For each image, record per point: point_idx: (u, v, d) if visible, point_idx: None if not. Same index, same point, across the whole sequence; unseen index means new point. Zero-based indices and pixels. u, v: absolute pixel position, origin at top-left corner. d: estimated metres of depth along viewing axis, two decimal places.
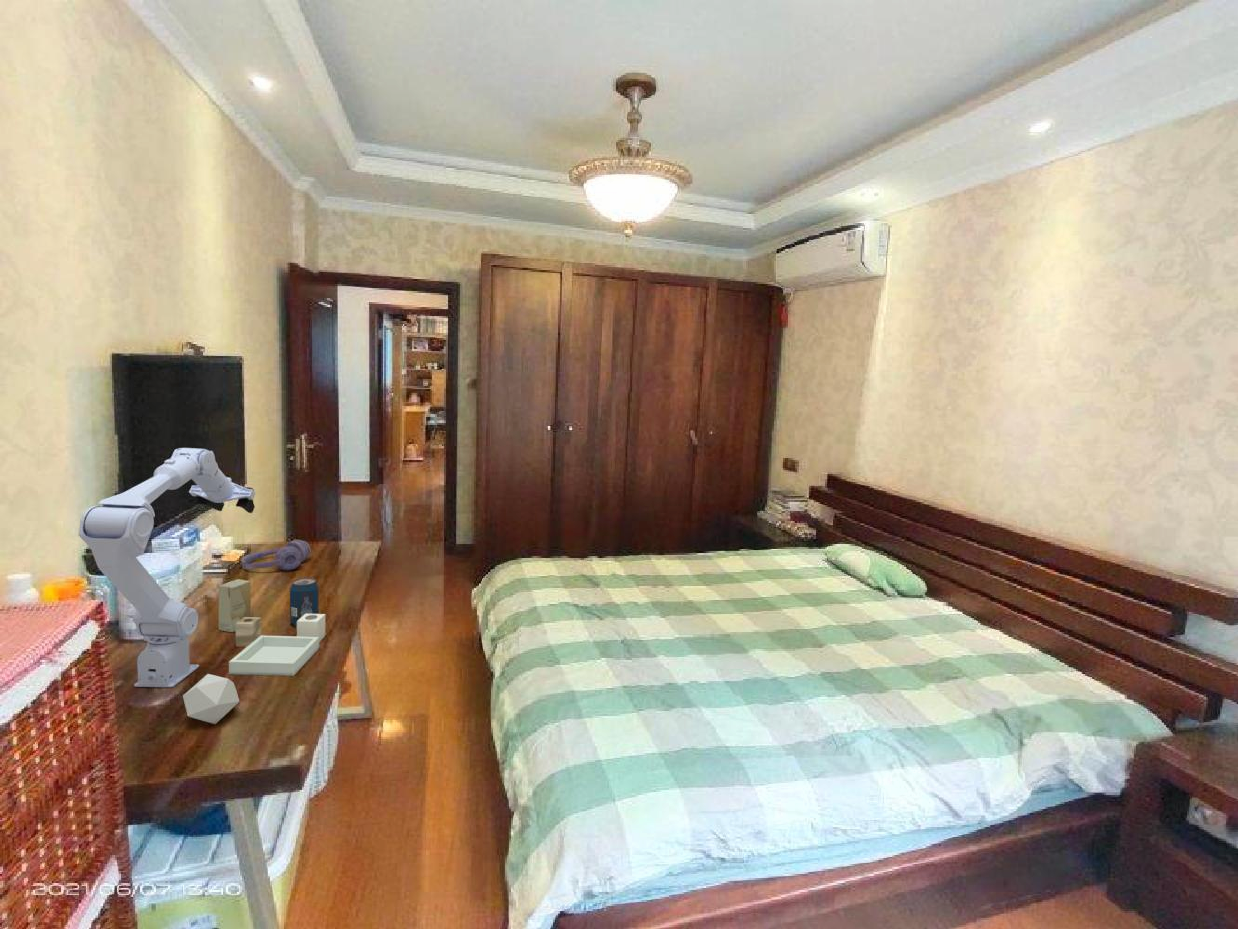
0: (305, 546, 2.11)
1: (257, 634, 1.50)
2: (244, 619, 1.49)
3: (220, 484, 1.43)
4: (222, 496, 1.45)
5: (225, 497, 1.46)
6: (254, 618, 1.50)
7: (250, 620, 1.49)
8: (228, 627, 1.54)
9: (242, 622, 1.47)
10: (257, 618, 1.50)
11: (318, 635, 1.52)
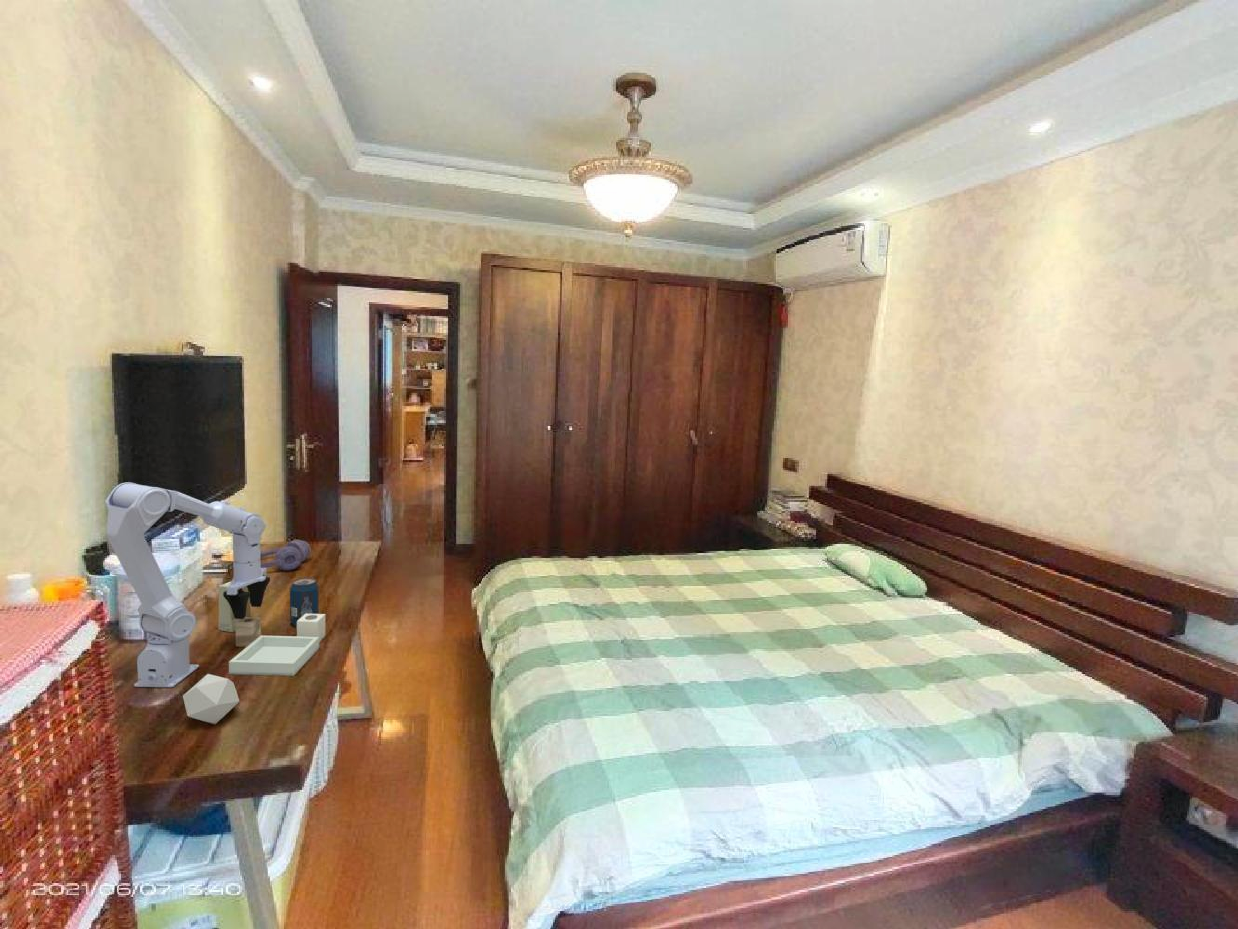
0: (305, 546, 2.11)
1: (257, 634, 1.50)
2: (244, 619, 1.49)
3: (250, 559, 1.44)
4: (234, 574, 1.45)
5: (234, 577, 1.45)
6: (254, 618, 1.50)
7: (250, 620, 1.49)
8: (228, 627, 1.54)
9: (242, 622, 1.47)
10: (257, 618, 1.50)
11: (318, 635, 1.52)
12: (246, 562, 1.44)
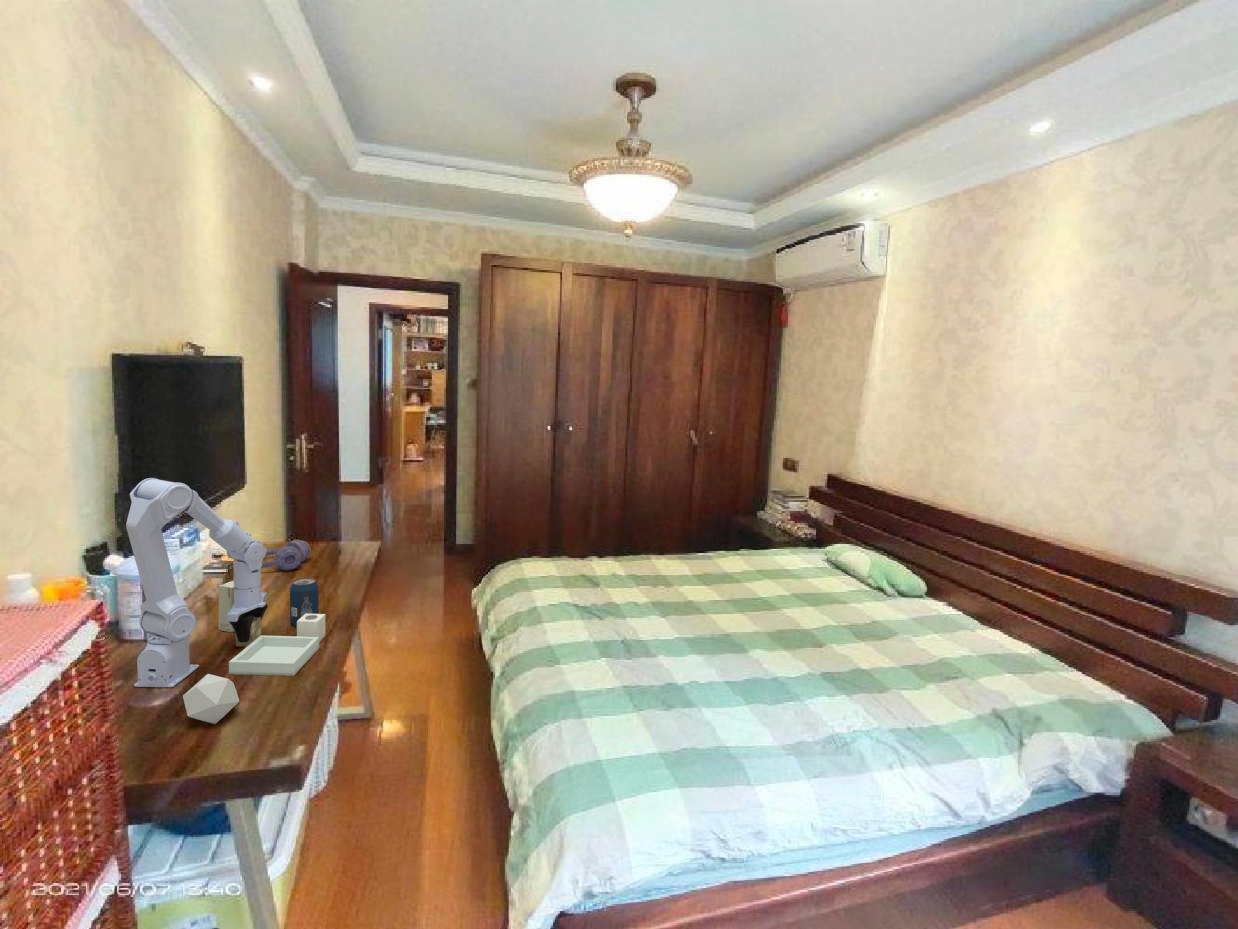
0: (305, 546, 2.11)
1: (257, 634, 1.50)
2: None
3: (250, 586, 1.45)
4: (234, 600, 1.46)
5: (234, 604, 1.46)
6: (254, 618, 1.50)
7: None
8: (228, 627, 1.54)
9: None
10: (257, 618, 1.50)
11: (318, 635, 1.52)
12: (247, 588, 1.45)
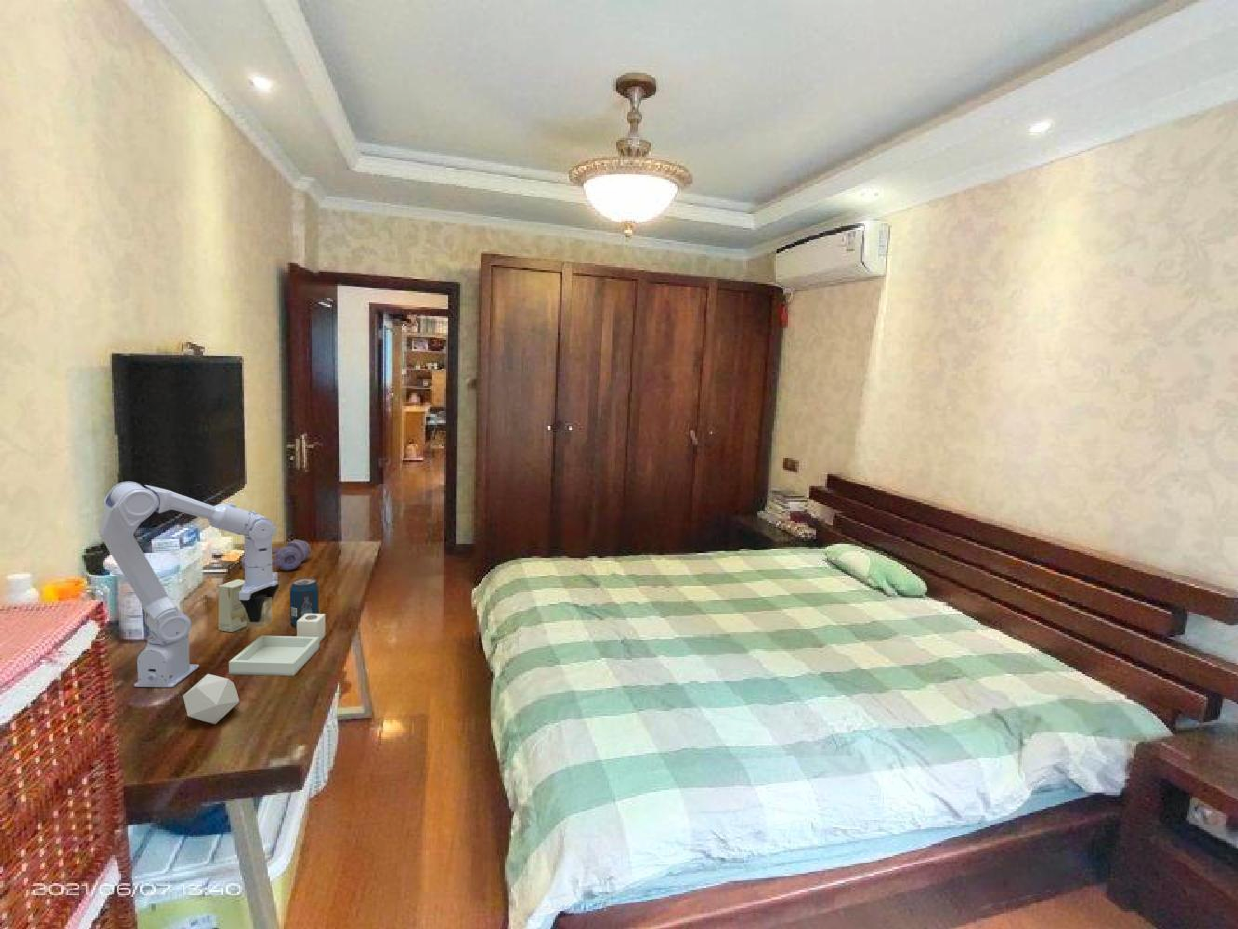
0: (305, 546, 2.11)
1: (268, 614, 1.46)
2: None
3: (257, 564, 1.41)
4: (245, 579, 1.42)
5: (245, 582, 1.41)
6: (265, 598, 1.46)
7: None
8: (228, 627, 1.54)
9: None
10: (268, 598, 1.46)
11: (318, 635, 1.52)
12: (253, 566, 1.40)
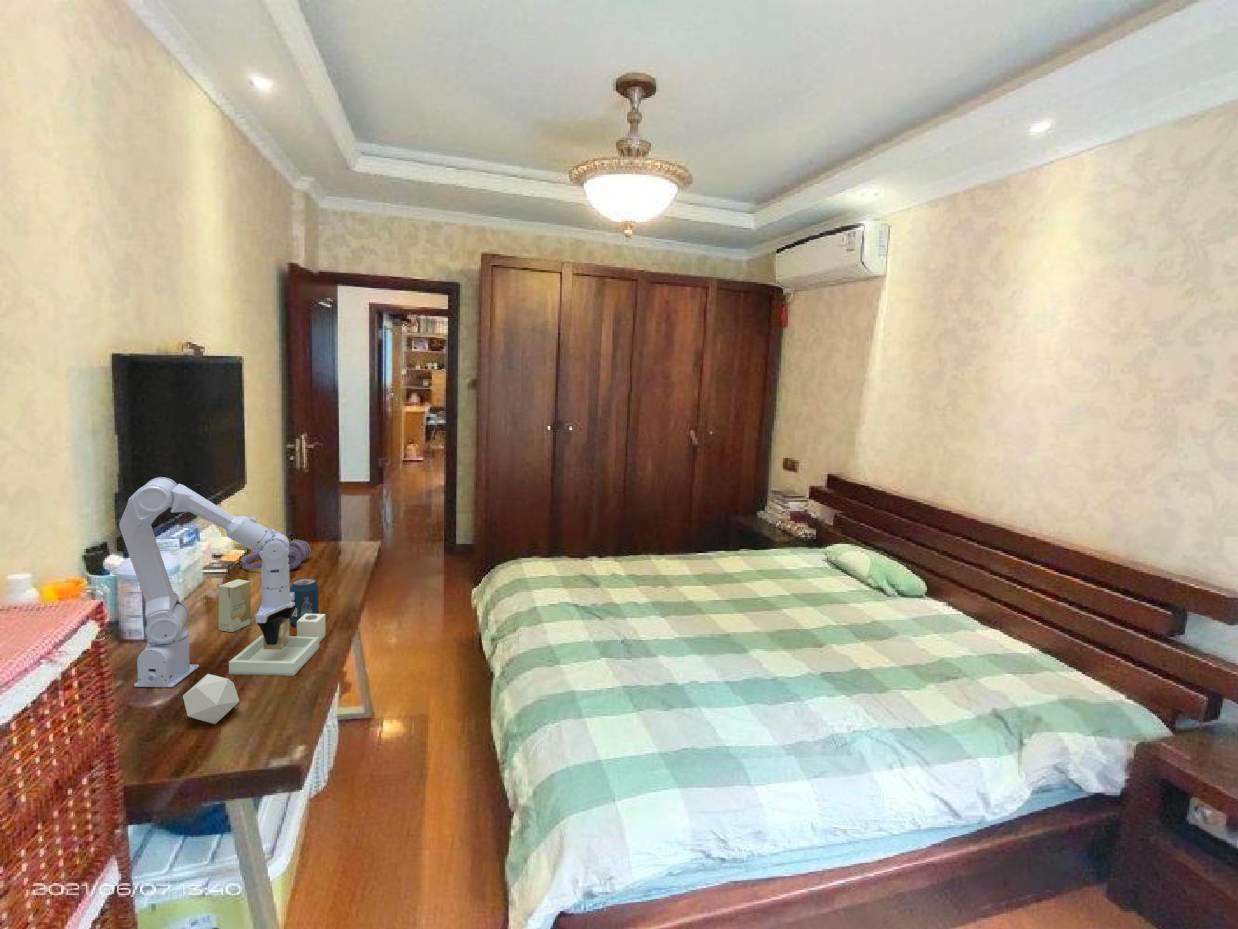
0: (305, 546, 2.11)
1: (286, 636, 1.41)
2: None
3: (269, 586, 1.36)
4: (262, 600, 1.37)
5: (262, 604, 1.37)
6: None
7: None
8: (228, 627, 1.54)
9: None
10: (285, 619, 1.42)
11: (318, 635, 1.52)
12: (266, 588, 1.36)
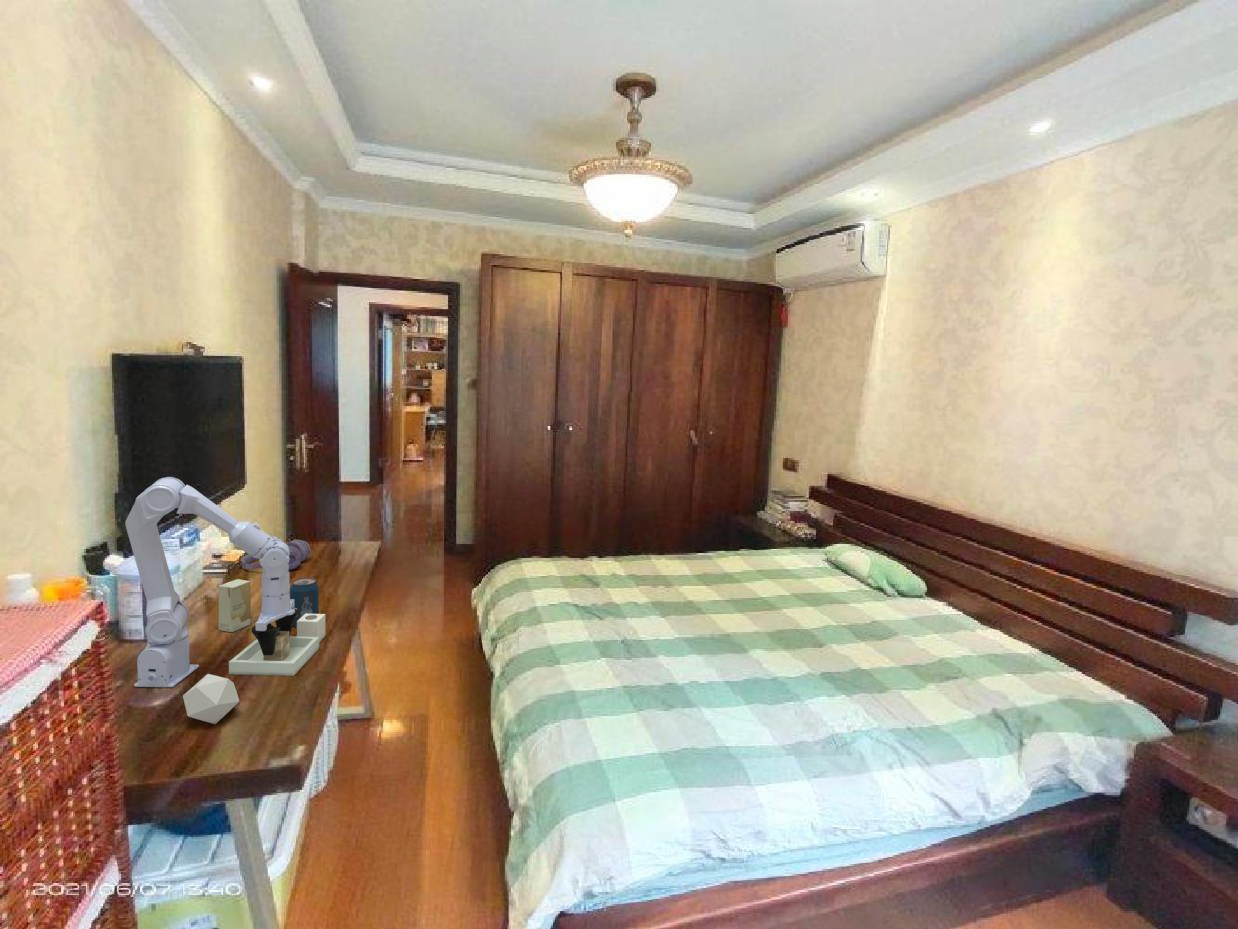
0: (305, 546, 2.11)
1: (286, 649, 1.42)
2: None
3: (269, 593, 1.36)
4: (262, 608, 1.38)
5: (262, 611, 1.38)
6: (282, 632, 1.42)
7: (278, 634, 1.41)
8: (228, 627, 1.54)
9: None
10: (285, 632, 1.42)
11: (318, 635, 1.52)
12: (266, 595, 1.36)
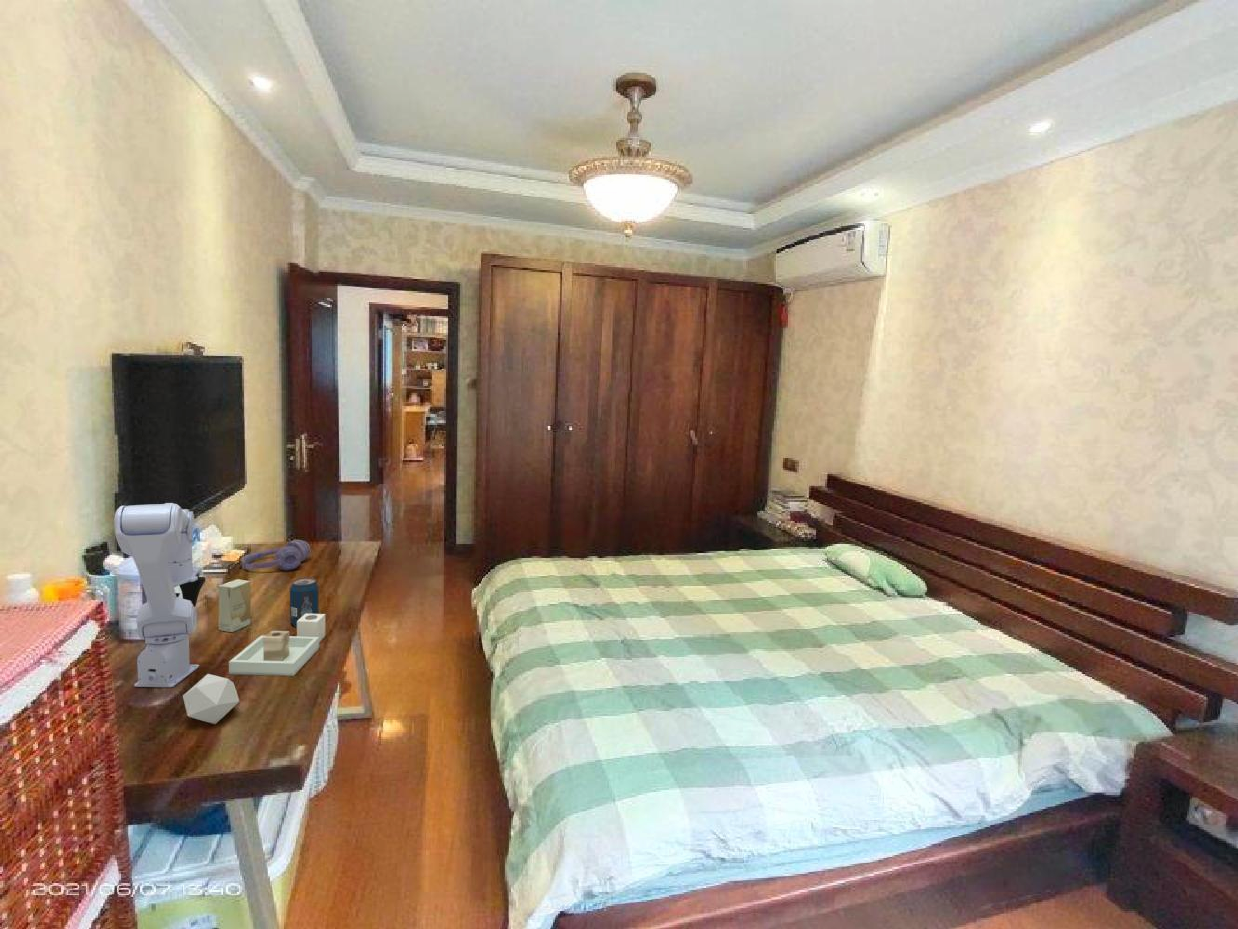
0: (305, 546, 2.11)
1: (286, 649, 1.42)
2: (272, 633, 1.41)
3: (189, 556, 1.40)
4: None
5: None
6: (282, 632, 1.42)
7: (278, 634, 1.41)
8: (228, 627, 1.54)
9: (270, 637, 1.39)
10: (285, 632, 1.42)
11: (318, 635, 1.52)
12: (187, 559, 1.39)
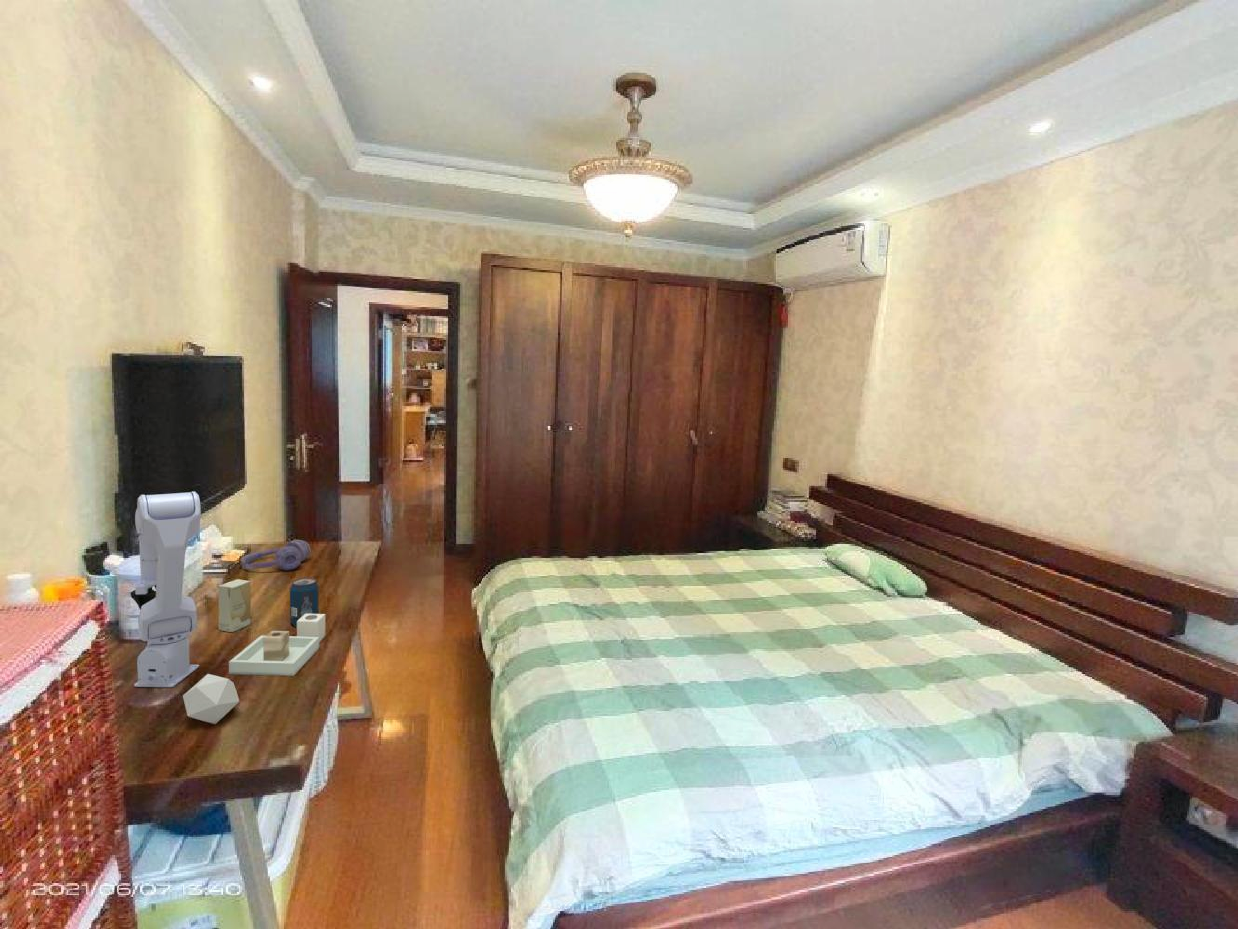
0: (305, 546, 2.11)
1: (286, 649, 1.42)
2: (272, 633, 1.41)
3: None
4: (141, 573, 1.38)
5: (141, 577, 1.38)
6: (282, 632, 1.42)
7: (278, 634, 1.41)
8: (228, 627, 1.54)
9: (270, 637, 1.39)
10: (285, 632, 1.42)
11: (318, 635, 1.52)
12: None
